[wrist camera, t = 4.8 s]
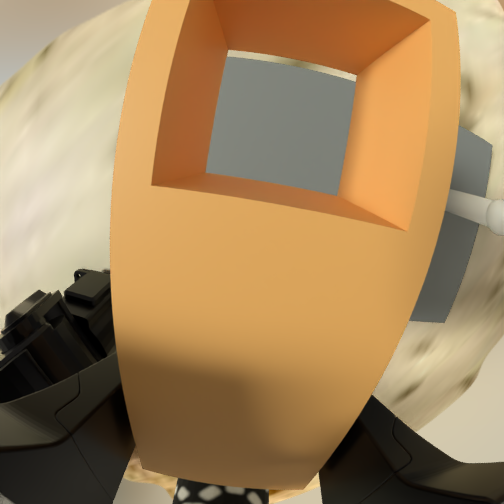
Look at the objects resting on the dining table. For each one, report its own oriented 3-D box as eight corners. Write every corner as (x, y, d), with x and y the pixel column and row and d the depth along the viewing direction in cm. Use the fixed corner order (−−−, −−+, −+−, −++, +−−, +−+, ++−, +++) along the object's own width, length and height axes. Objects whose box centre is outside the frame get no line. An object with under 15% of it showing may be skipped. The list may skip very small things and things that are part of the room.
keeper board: (436, 314, 22) (489, 372, 13) (189, 282, 21) (150, 357, 12) (481, 144, 17) (558, 151, 8) (221, 63, 16) (195, -3, 7)
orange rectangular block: (293, 402, 10) (303, 489, 6) (170, 384, 10) (142, 468, 6) (377, 64, 6) (455, 12, 2) (211, 31, 6) (175, -53, 2)
